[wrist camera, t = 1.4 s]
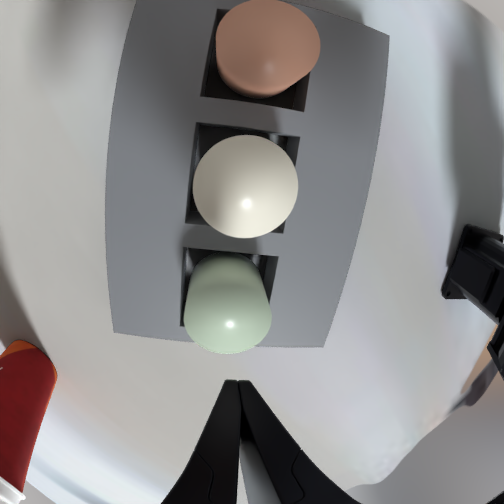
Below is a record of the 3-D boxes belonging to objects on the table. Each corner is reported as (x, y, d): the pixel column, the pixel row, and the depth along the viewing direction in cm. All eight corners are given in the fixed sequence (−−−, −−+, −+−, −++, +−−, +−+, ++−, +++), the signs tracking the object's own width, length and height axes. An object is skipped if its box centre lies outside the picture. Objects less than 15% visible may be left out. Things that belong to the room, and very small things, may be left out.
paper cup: (-3, 316, 17) (-81, 427, 4) (66, 352, 19) (4, 495, 6) (8, 372, 19) (-42, 471, 6) (69, 402, 21) (32, 518, 8)
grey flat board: (368, 45, 13) (389, 35, 11) (312, 324, 20) (323, 347, 17) (149, 9, 11) (139, -9, 9) (124, 310, 18) (113, 332, 15)
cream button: (285, 143, 14) (306, 144, 10) (273, 219, 15) (288, 243, 12) (204, 132, 13) (199, 129, 10) (195, 211, 14) (188, 232, 11)
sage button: (266, 255, 16) (279, 286, 12) (255, 316, 17) (263, 355, 14) (192, 247, 15) (185, 278, 12) (188, 311, 16) (183, 350, 13)
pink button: (302, 36, 11) (325, 11, 8) (292, 104, 13) (314, 95, 10) (223, 22, 11) (225, -8, 8) (210, 92, 12) (207, 78, 9)
